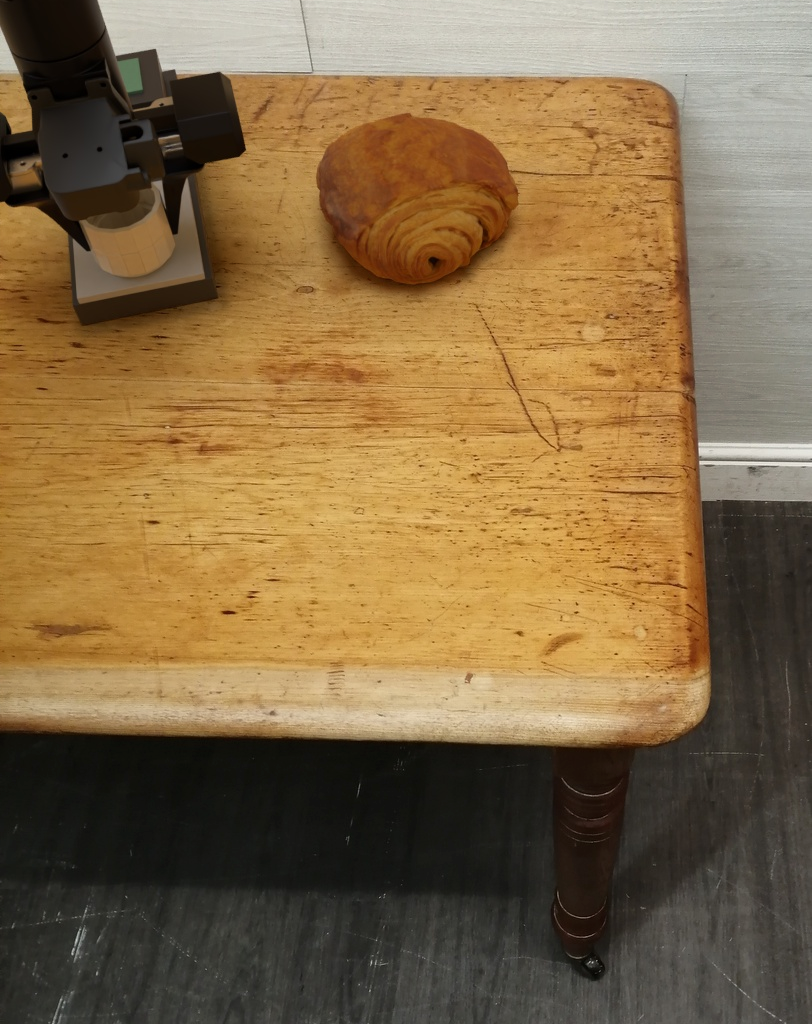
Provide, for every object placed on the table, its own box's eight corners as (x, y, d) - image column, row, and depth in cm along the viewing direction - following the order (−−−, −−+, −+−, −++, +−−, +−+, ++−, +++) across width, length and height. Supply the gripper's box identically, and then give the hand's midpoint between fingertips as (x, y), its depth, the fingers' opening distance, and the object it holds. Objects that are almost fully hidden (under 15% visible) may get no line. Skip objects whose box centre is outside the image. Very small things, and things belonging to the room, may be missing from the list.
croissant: (348, 325, 73) (337, 255, 66) (307, 169, 79) (292, 90, 72) (536, 282, 74) (545, 208, 67) (480, 131, 80) (483, 49, 73)
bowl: (99, 288, 70) (78, 239, 66) (94, 234, 73) (74, 184, 69) (180, 272, 70) (164, 222, 66) (172, 218, 73) (156, 168, 69)
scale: (81, 325, 71) (56, 271, 67) (66, 110, 85) (44, 54, 81) (218, 298, 72) (202, 243, 68) (180, 89, 86) (165, 32, 82)
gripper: (-113, 148, 53) (2, 347, 66) (232, 85, 54) (277, 291, 67) (-103, 32, 59) (0, 236, 72) (208, -22, 60) (253, 187, 73)
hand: (132, 239), depth 71 cm, fingers closed on bowl, 6 cm apart
